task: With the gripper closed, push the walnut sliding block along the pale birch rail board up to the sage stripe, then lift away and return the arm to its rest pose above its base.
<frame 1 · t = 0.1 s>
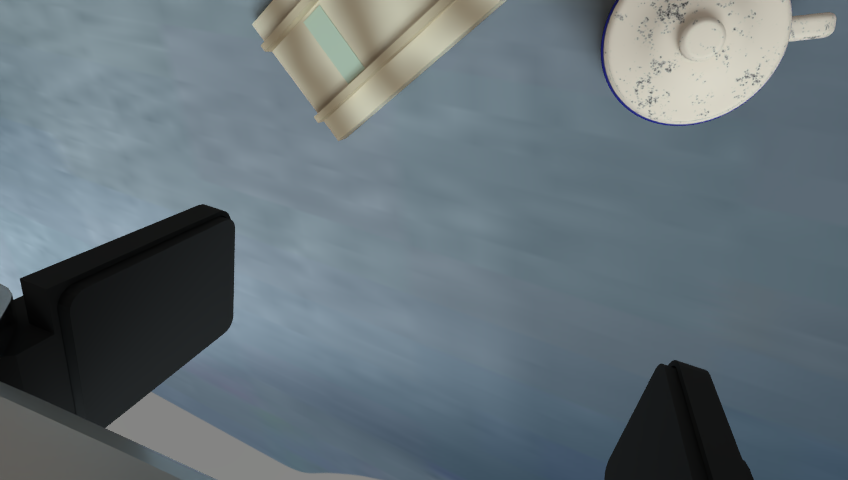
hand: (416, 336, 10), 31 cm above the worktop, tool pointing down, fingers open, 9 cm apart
teacup with lid: (689, 39, 33), on the worktop
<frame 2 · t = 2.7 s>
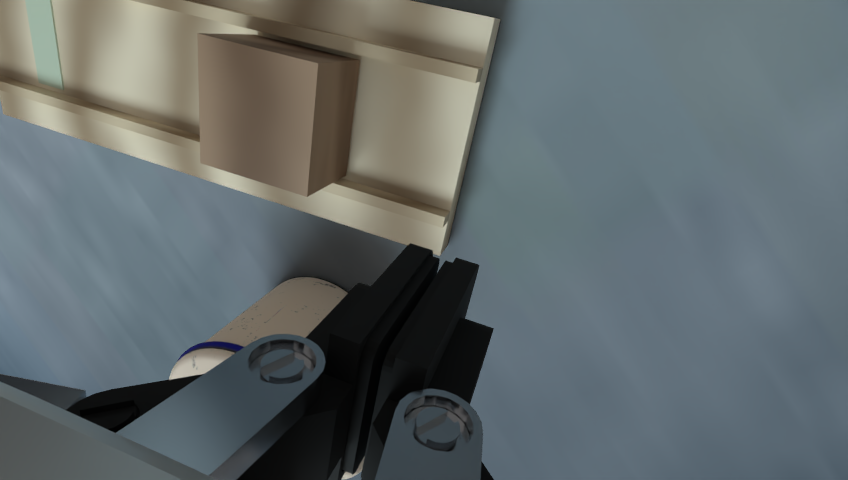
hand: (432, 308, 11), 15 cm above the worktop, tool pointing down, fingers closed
teacup with lid: (337, 343, 33), on the worktop
birch rail board: (212, 75, 28), on the worktop
walnut slider: (279, 111, 23), point 4 cm above the worktop, slide at 0.0 cm
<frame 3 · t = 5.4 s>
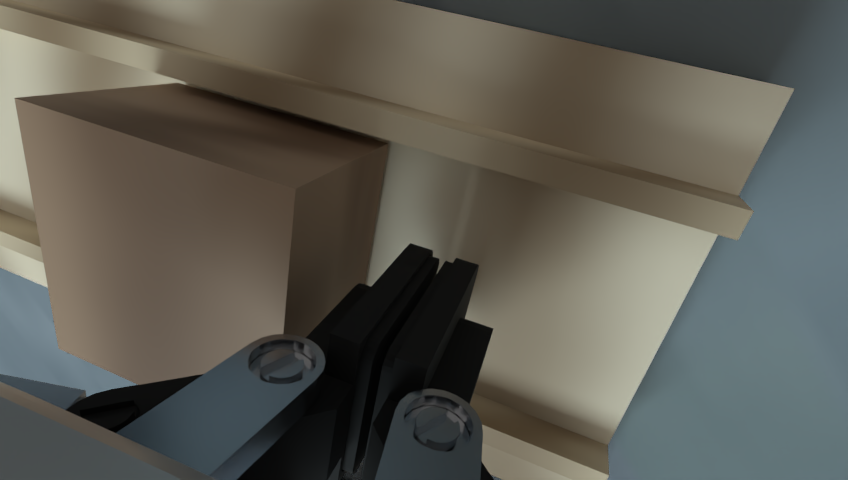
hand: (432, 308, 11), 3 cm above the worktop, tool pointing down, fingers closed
birch rail board: (155, 153, 16), on the worktop
walnut slider: (221, 247, 11), point 4 cm above the worktop, slide at 1.4 cm, touching gripper
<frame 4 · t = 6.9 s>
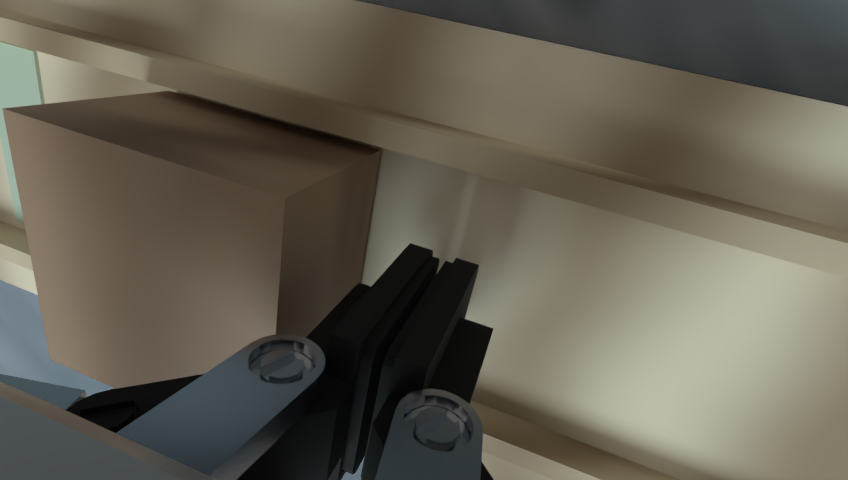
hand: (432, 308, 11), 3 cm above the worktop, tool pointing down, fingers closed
birch rail board: (364, 230, 14), on the worktop
walnut slider: (213, 255, 11), point 4 cm above the worktop, slide at 9.3 cm, touching gripper
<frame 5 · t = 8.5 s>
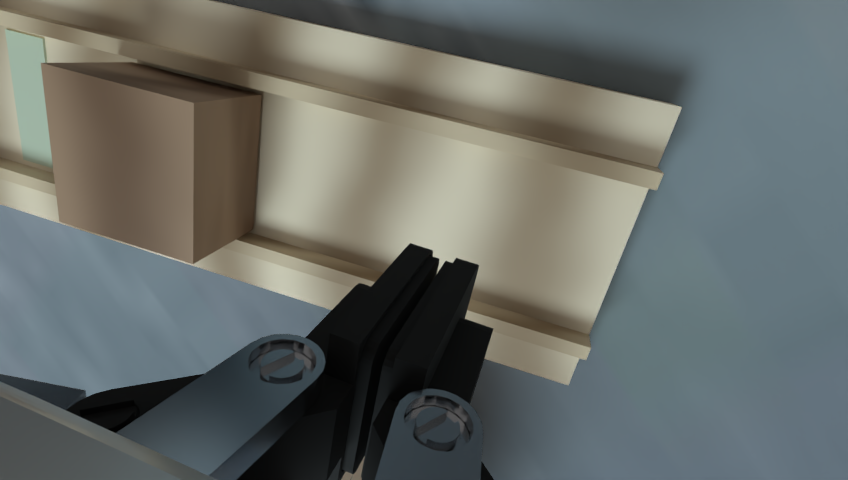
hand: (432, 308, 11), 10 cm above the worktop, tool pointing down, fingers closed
birch rail board: (264, 154, 22), on the worktop
walnut slider: (161, 157, 19), point 4 cm above the worktop, slide at 9.3 cm
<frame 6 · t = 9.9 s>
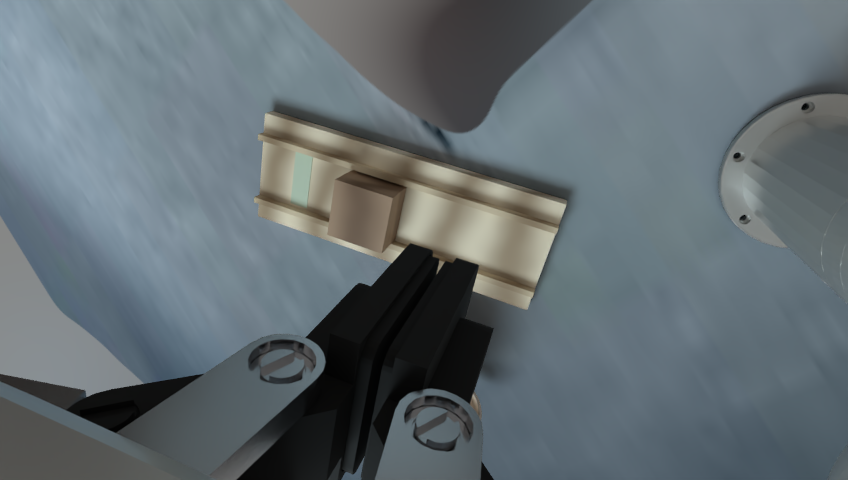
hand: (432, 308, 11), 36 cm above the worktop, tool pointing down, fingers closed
birch rail board: (400, 206, 51), on the worktop
walnut slider: (366, 210, 48), point 4 cm above the worktop, slide at 9.3 cm
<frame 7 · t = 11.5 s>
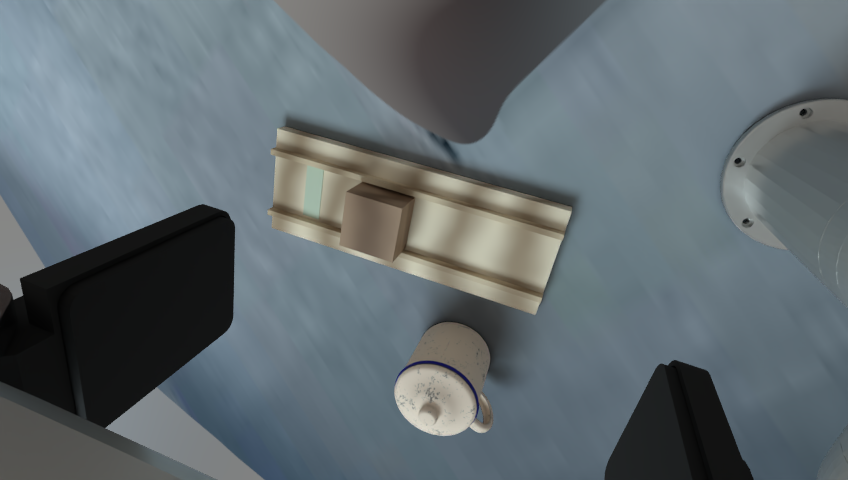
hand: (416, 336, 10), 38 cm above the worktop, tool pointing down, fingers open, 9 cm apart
teacup with lid: (463, 359, 57), on the worktop
birch rail board: (409, 216, 52), on the worktop
walnut slider: (377, 221, 49), point 4 cm above the worktop, slide at 9.3 cm
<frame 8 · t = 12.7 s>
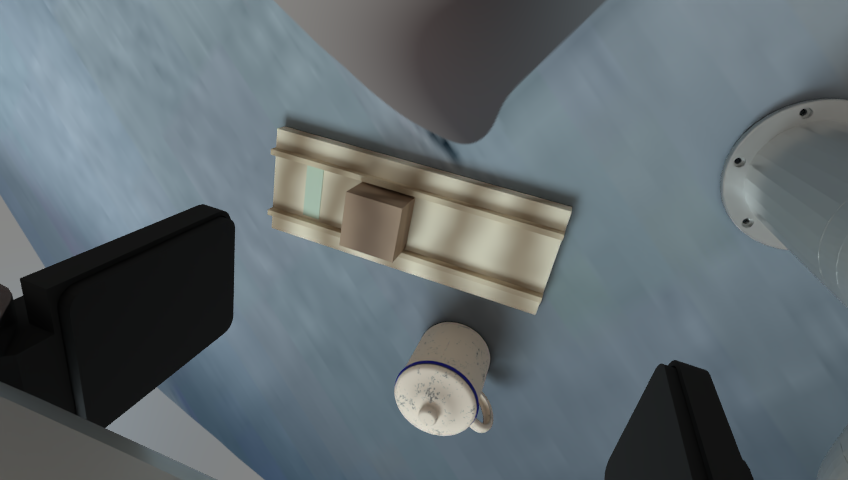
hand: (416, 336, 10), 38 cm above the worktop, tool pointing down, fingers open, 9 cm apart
teacup with lid: (463, 359, 57), on the worktop
birch rail board: (409, 216, 52), on the worktop
walnut slider: (377, 221, 49), point 4 cm above the worktop, slide at 9.3 cm
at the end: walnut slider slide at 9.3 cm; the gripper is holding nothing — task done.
